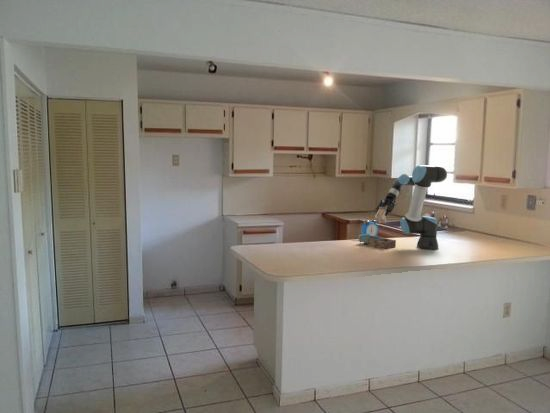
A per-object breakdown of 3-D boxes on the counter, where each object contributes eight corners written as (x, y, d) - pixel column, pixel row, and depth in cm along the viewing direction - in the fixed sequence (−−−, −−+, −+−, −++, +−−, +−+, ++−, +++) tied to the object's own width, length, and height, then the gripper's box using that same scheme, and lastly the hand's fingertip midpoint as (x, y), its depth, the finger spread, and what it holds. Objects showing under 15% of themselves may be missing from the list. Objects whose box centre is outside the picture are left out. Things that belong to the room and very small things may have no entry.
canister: (387, 222, 355) (387, 207, 353) (382, 223, 351) (383, 207, 350) (381, 221, 359) (381, 206, 357) (377, 222, 355) (377, 207, 354)
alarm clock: (364, 239, 370) (365, 220, 369) (360, 237, 376) (361, 219, 374) (378, 238, 375) (379, 220, 374) (374, 237, 381) (374, 219, 379)
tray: (385, 242, 347) (386, 236, 346) (375, 244, 338) (376, 238, 337) (368, 239, 358) (368, 233, 357) (358, 241, 349) (358, 235, 348)
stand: (395, 246, 341) (395, 240, 341) (385, 249, 332) (385, 242, 331) (377, 243, 352) (378, 237, 352) (367, 245, 343) (367, 239, 342)
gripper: (404, 199, 356) (391, 222, 347) (384, 197, 370) (371, 219, 361) (400, 192, 352) (387, 216, 343) (380, 191, 365) (367, 213, 357)
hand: (379, 218), depth 352 cm, fingers closed on canister, 5 cm apart
